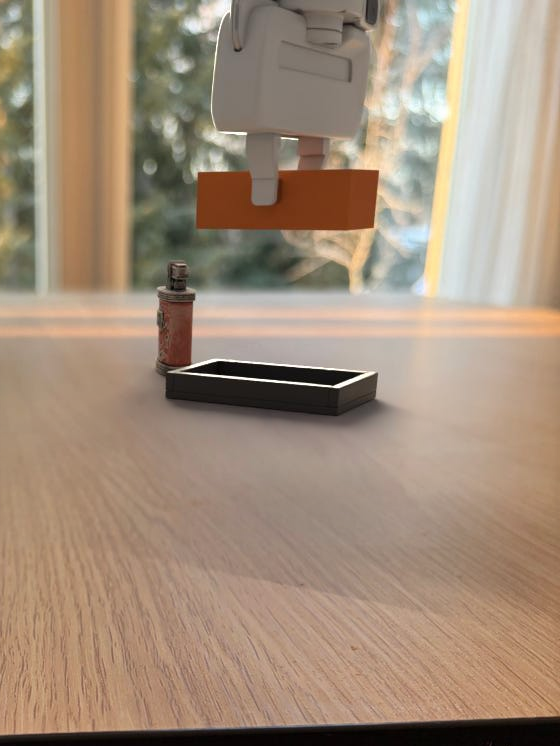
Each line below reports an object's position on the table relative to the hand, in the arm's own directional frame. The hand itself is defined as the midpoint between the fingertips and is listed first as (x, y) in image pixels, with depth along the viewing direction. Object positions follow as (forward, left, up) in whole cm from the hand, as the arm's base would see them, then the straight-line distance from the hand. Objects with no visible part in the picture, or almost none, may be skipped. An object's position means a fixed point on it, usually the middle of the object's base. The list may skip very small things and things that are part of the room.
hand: (286, 204), depth 80 cm
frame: (+2, -3, -15) cm, 15 cm away
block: (0, 0, -2) cm, 2 cm away
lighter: (+16, -12, -15) cm, 25 cm away
